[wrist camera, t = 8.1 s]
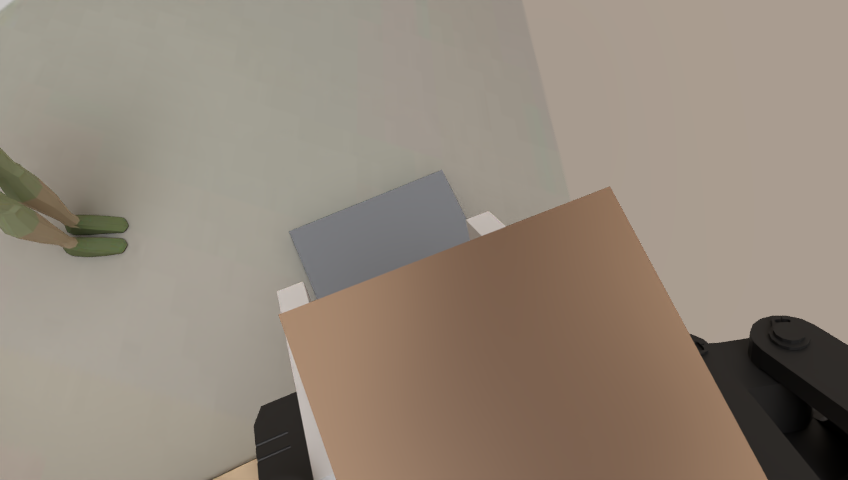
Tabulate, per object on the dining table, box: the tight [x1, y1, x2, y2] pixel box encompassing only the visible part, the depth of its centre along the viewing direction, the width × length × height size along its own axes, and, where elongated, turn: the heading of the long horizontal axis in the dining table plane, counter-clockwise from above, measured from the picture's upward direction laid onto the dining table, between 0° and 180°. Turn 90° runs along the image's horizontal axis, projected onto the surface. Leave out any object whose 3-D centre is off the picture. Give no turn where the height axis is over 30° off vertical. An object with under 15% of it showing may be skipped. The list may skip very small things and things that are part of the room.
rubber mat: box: [289, 170, 470, 299], centre depth 38 cm, size 12×12×1 cm
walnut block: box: [279, 187, 768, 480], centre depth 13 cm, size 5×5×13 cm
